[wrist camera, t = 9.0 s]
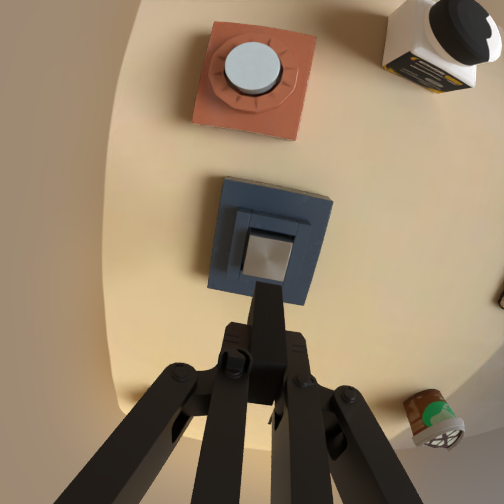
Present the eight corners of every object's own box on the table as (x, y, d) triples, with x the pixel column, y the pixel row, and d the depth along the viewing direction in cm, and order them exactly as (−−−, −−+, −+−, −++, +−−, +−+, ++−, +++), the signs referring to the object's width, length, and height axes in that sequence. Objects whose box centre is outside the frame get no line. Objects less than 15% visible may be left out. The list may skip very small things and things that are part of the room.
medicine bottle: (380, 68, 22) (441, 35, 11) (387, 16, 20) (440, -31, 9) (437, 95, 22) (511, 84, 11) (442, 43, 20) (508, 17, 9)
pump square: (251, 228, 25) (249, 234, 24) (291, 236, 25) (293, 243, 24) (243, 266, 27) (242, 274, 25) (282, 273, 27) (283, 281, 25)
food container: (456, 392, 38) (477, 430, 29) (433, 413, 40) (450, 452, 31) (425, 376, 36) (448, 422, 27) (397, 401, 38) (415, 447, 29)
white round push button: (233, 46, 19) (230, 38, 17) (283, 54, 19) (284, 46, 17) (223, 90, 20) (219, 85, 18) (273, 98, 20) (274, 94, 18)
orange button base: (219, 32, 22) (210, 13, 17) (311, 47, 22) (320, 29, 17) (199, 125, 26) (185, 121, 21) (293, 141, 26) (298, 140, 21)
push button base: (227, 175, 27) (220, 181, 24) (328, 196, 28) (337, 205, 24) (211, 277, 31) (204, 295, 28) (301, 294, 31) (305, 314, 28)
